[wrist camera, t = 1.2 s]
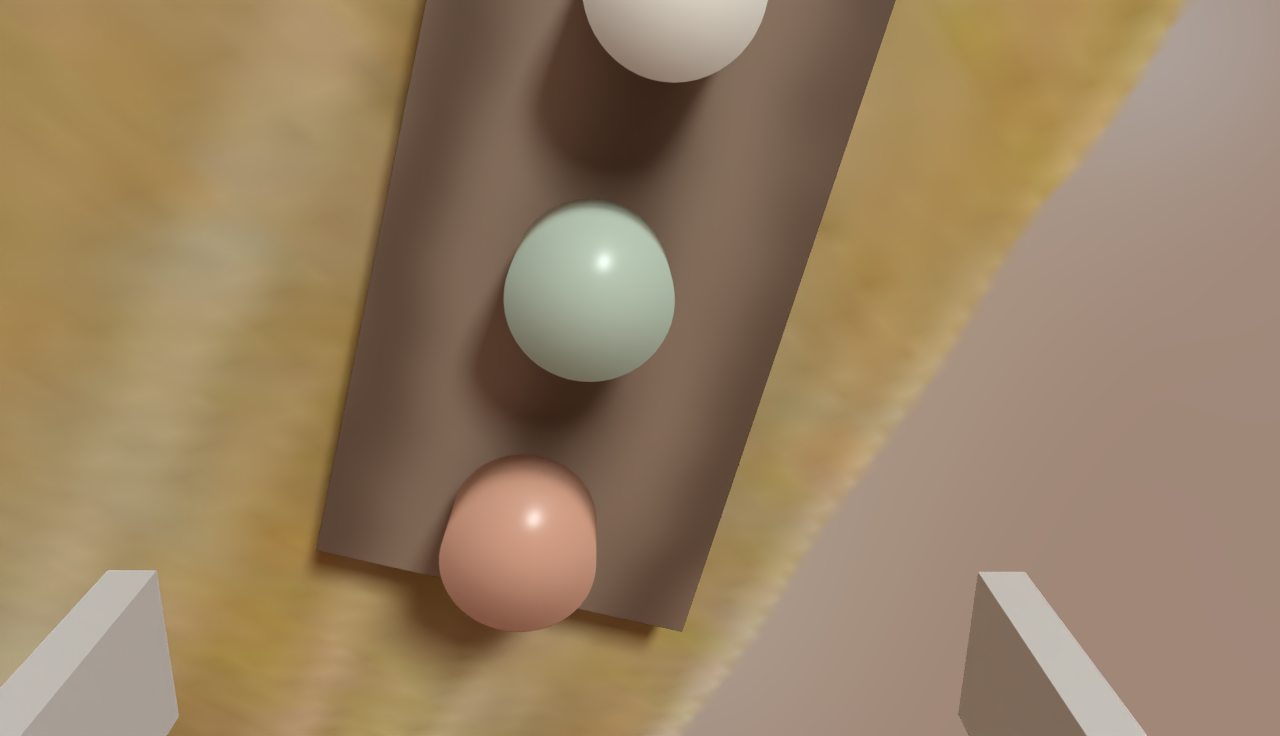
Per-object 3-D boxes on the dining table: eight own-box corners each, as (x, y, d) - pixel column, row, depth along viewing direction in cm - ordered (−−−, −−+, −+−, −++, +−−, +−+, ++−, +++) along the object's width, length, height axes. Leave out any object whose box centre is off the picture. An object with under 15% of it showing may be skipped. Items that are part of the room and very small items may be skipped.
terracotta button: (438, 566, 36) (424, 613, 33) (469, 439, 35) (457, 477, 32) (576, 597, 37) (574, 645, 34) (613, 473, 35) (613, 514, 32)
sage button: (496, 329, 33) (486, 358, 30) (533, 179, 32) (526, 196, 29) (644, 366, 34) (648, 399, 31) (687, 222, 32) (695, 242, 30)
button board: (336, 512, 40) (315, 550, 38) (482, -203, 32) (471, -224, 30) (676, 590, 42) (681, 631, 39) (896, -73, 34) (922, -80, 31)
